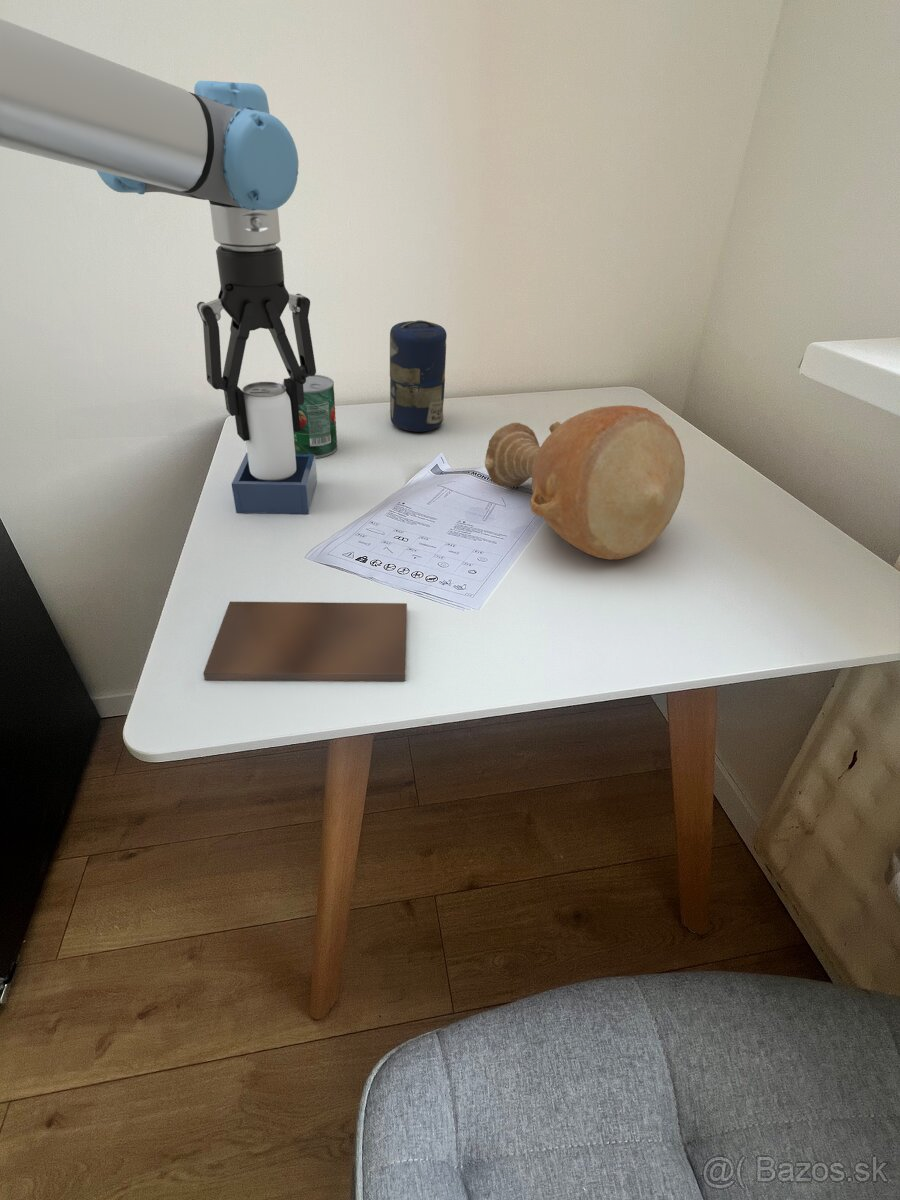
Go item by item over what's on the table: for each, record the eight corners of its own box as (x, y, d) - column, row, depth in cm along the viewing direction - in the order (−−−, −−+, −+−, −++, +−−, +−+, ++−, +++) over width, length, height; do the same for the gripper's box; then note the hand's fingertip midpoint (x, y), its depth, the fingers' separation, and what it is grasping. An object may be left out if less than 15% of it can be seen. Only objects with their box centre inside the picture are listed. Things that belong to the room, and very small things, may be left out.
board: (204, 680, 70) (203, 672, 69) (230, 608, 79) (229, 601, 79) (405, 681, 71) (405, 674, 70) (406, 610, 80) (406, 603, 80)
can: (294, 482, 96) (286, 397, 89) (246, 482, 96) (234, 396, 89) (299, 462, 101) (292, 381, 94) (253, 462, 101) (243, 379, 94)
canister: (389, 414, 128) (388, 312, 117) (440, 414, 129) (444, 312, 118) (391, 435, 120) (390, 327, 110) (446, 435, 121) (450, 328, 111)
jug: (579, 519, 75) (427, 449, 96) (637, 607, 88) (493, 528, 109) (693, 382, 76) (519, 343, 98) (734, 489, 89) (572, 434, 111)
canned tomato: (278, 449, 114) (271, 383, 107) (312, 434, 119) (306, 370, 113) (315, 463, 111) (309, 395, 104) (347, 446, 116) (344, 381, 109)
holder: (236, 513, 97) (231, 483, 94) (250, 480, 105) (246, 452, 102) (308, 514, 97) (306, 485, 95) (317, 481, 105) (314, 454, 103)
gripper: (171, 255, 75) (205, 455, 88) (338, 246, 84) (346, 430, 97) (154, 243, 80) (189, 434, 93) (313, 236, 89) (324, 412, 102)
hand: (269, 432), depth 95 cm, fingers closed on can, 6 cm apart
